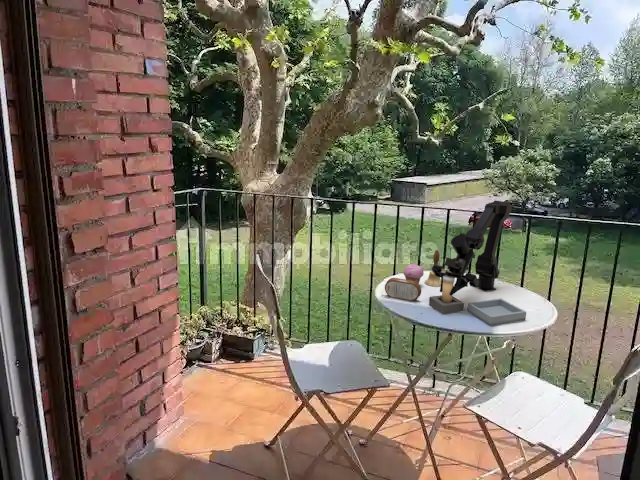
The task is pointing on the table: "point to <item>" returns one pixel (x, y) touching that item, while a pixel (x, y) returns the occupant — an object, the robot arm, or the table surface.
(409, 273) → the cupcake
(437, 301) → the frame
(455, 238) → the robot arm
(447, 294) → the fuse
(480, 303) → the parts tray
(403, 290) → the tin
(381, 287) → the table surface
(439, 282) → the hand bell
